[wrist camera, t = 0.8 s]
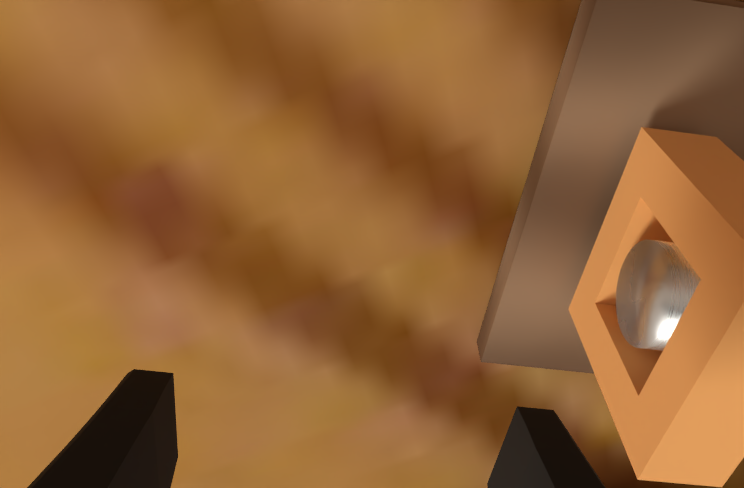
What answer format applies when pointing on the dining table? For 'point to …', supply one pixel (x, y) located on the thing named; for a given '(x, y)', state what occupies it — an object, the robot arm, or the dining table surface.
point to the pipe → (653, 293)
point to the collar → (698, 322)
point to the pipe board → (606, 154)
